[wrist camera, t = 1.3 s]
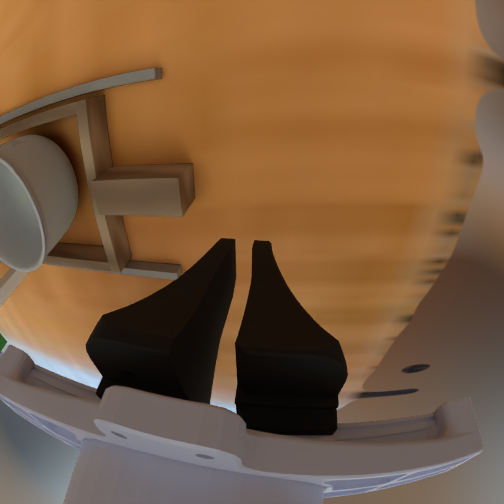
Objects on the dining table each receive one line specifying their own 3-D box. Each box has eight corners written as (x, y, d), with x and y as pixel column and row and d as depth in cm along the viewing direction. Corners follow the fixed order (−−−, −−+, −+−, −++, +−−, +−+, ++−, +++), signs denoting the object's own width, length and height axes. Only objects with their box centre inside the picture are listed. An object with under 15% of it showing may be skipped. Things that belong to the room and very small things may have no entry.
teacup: (55, 101, 17) (-14, 125, 10) (115, 196, 22) (60, 248, 15) (1, 182, 22) (-46, 216, 15) (48, 252, 27) (8, 297, 20)
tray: (201, 262, 25) (191, 286, 22) (20, 246, 27) (6, 260, 24) (188, 82, 16) (172, 83, 14) (-11, 133, 18) (-30, 143, 16)
